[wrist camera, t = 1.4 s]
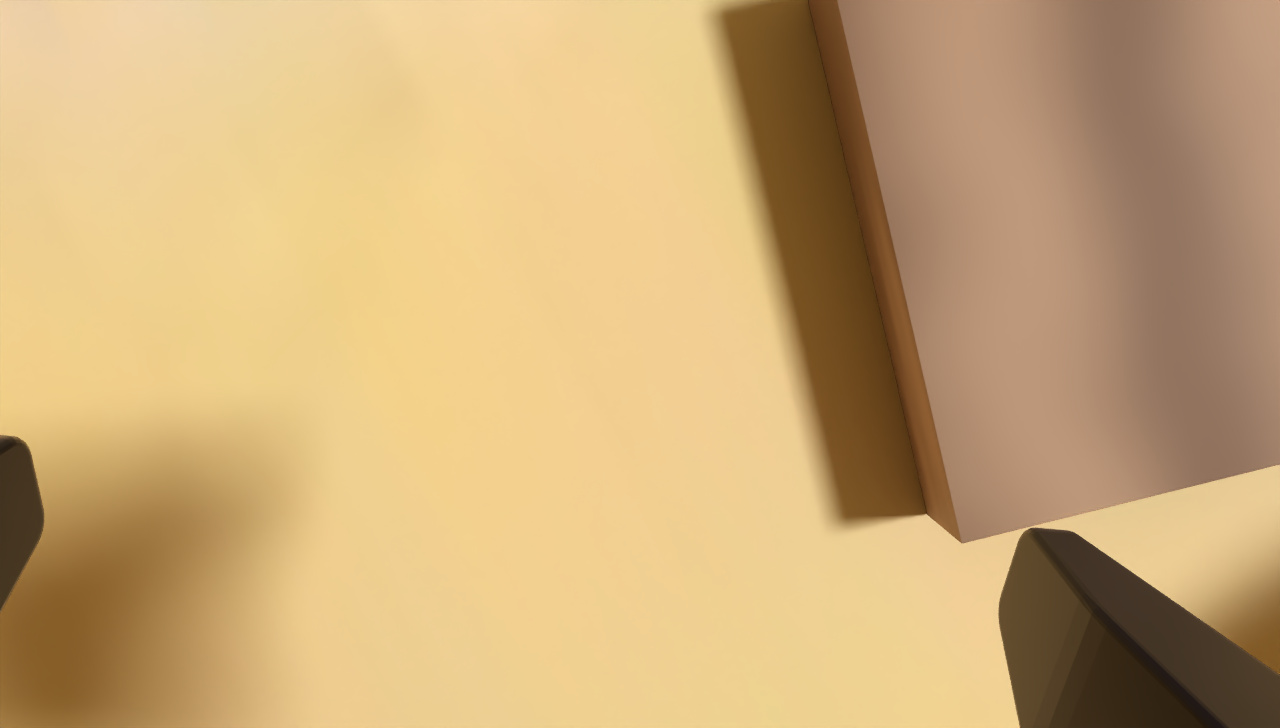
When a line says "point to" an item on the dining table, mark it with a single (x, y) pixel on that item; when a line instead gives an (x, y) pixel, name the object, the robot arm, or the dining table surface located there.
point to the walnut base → (1068, 241)
